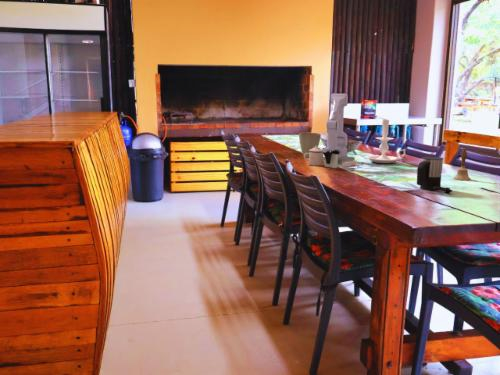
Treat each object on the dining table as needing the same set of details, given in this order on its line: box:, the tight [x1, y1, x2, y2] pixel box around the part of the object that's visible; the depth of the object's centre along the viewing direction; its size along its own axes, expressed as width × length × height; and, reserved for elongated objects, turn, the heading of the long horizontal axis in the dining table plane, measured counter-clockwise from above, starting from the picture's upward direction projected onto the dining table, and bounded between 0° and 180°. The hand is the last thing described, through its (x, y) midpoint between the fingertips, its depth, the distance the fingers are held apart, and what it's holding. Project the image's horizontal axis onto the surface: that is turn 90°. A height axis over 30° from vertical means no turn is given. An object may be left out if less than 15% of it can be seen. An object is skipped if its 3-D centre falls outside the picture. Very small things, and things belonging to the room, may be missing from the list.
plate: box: [324, 154, 338, 169], centre depth 273 cm, size 2×8×8 cm, turn 44°
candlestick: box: [366, 118, 407, 164], centre depth 289 cm, size 21×25×28 cm
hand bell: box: [452, 148, 472, 182], centre depth 236 cm, size 8×8×16 cm
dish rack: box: [337, 155, 358, 168], centre depth 282 cm, size 14×12×4 cm
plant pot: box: [298, 132, 322, 159], centre depth 313 cm, size 15×15×16 cm
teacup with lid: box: [303, 146, 324, 167], centre depth 281 cm, size 12×9×12 cm
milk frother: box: [416, 156, 453, 194], centre depth 209 cm, size 14×16×15 cm
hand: (331, 163), depth 274 cm, fingers open, 5 cm apart
